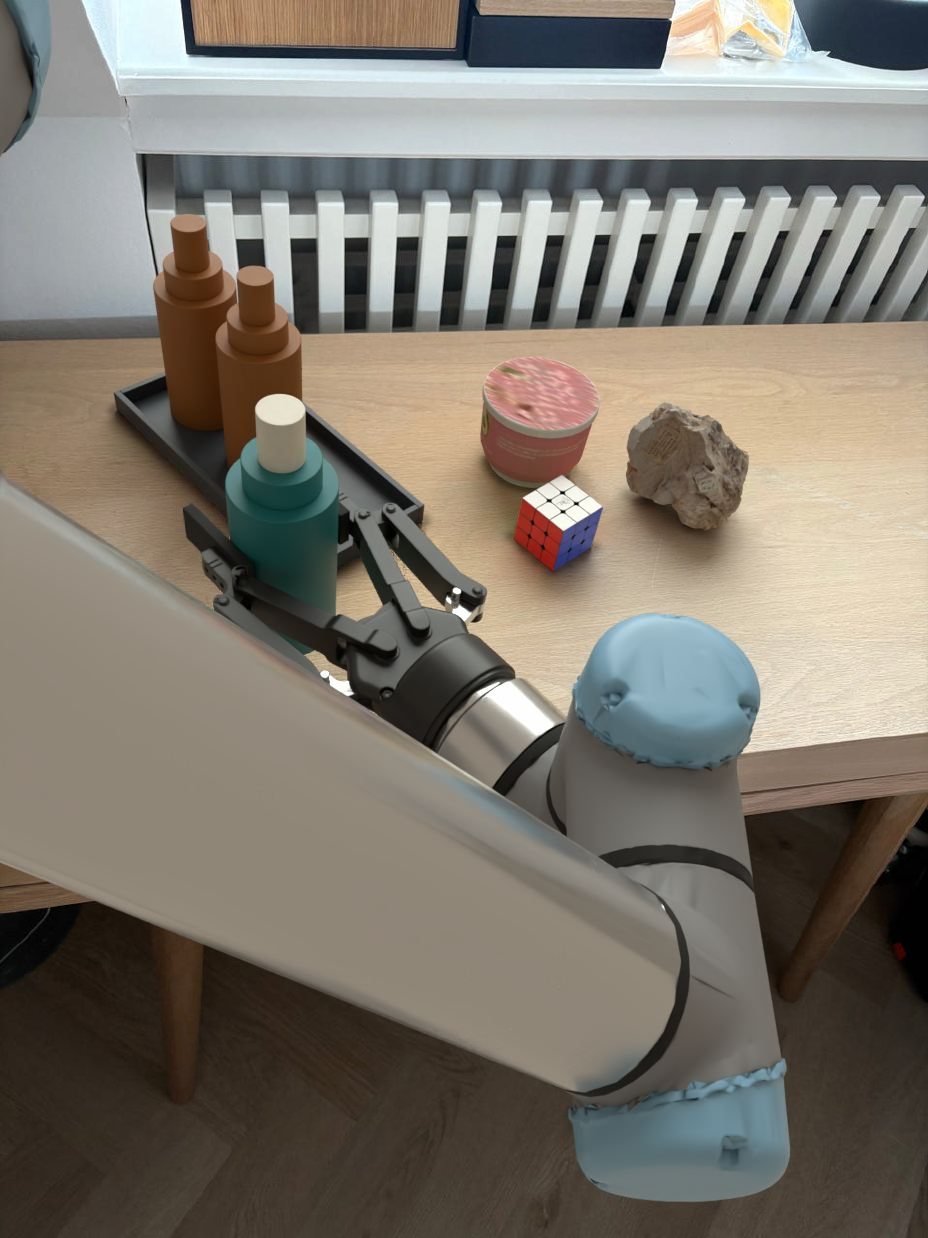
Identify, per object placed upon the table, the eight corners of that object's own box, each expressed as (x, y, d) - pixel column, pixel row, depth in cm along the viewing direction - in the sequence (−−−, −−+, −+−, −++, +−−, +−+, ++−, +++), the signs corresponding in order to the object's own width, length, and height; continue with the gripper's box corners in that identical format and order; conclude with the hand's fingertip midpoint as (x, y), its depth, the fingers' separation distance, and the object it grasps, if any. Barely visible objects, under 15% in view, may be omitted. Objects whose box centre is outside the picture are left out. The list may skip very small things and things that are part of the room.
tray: (302, 590, 84) (301, 573, 82) (116, 409, 95) (113, 392, 94) (423, 521, 90) (424, 504, 89) (235, 360, 102) (234, 343, 100)
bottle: (276, 674, 69) (266, 466, 55) (217, 612, 72) (194, 399, 57) (355, 626, 72) (365, 418, 58) (296, 569, 75) (292, 357, 61)
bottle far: (197, 441, 93) (175, 254, 79) (156, 402, 96) (127, 215, 82) (259, 413, 96) (248, 229, 82) (217, 376, 99) (200, 192, 85)
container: (502, 410, 101) (514, 342, 95) (599, 450, 99) (617, 383, 93) (453, 470, 95) (462, 401, 89) (555, 514, 93) (572, 446, 86)
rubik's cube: (512, 537, 90) (521, 497, 86) (552, 514, 92) (562, 473, 89) (552, 572, 88) (563, 531, 84) (592, 547, 90) (604, 507, 87)
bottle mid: (256, 496, 89) (244, 311, 75) (211, 454, 92) (191, 268, 78) (318, 465, 93) (318, 282, 78) (273, 425, 95) (265, 242, 81)
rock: (700, 567, 94) (786, 493, 90) (626, 512, 87) (717, 429, 83) (661, 507, 100) (740, 436, 97) (589, 451, 93) (672, 371, 89)
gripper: (337, 854, 56) (112, 602, 66) (578, 675, 66) (353, 478, 76) (340, 784, 51) (93, 518, 60) (603, 599, 60) (356, 396, 70)
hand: (238, 496), depth 68 cm, fingers closed on bottle, 7 cm apart
